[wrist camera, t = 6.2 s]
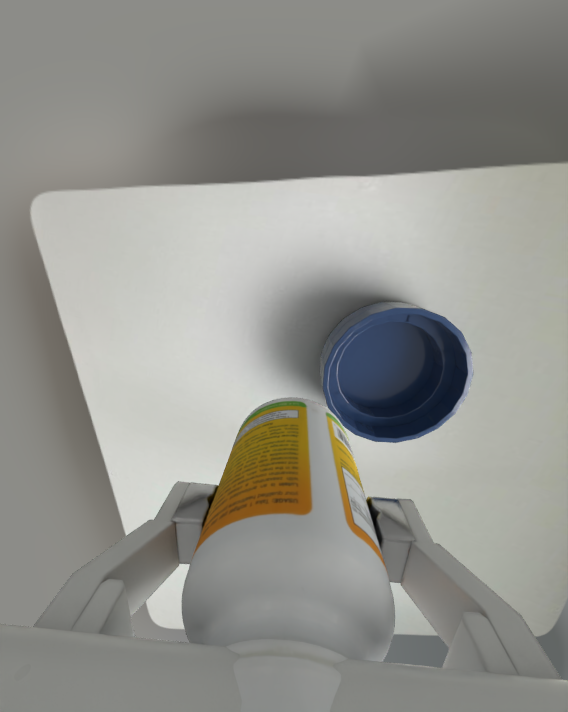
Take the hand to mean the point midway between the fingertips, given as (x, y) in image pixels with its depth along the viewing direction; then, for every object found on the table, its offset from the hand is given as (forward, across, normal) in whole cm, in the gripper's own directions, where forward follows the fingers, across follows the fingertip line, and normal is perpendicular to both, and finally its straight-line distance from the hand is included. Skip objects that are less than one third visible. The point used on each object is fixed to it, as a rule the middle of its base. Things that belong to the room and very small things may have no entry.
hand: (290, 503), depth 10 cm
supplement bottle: (+4, 0, 0) cm, 4 cm away
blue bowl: (+20, -9, +1) cm, 22 cm away
